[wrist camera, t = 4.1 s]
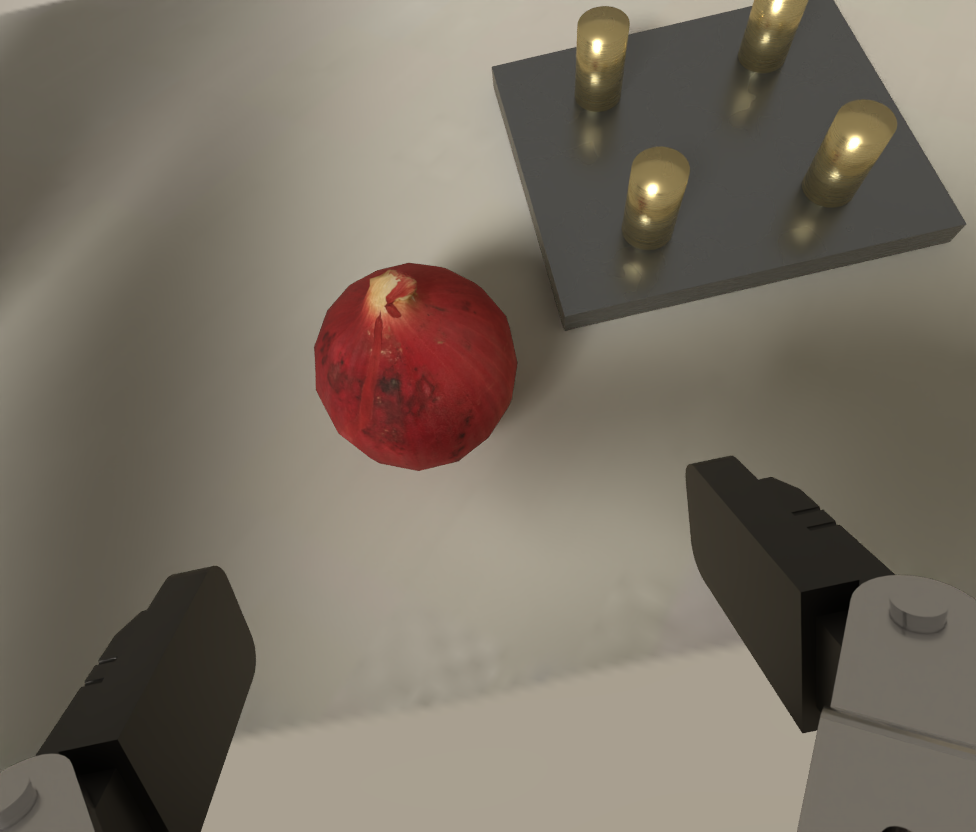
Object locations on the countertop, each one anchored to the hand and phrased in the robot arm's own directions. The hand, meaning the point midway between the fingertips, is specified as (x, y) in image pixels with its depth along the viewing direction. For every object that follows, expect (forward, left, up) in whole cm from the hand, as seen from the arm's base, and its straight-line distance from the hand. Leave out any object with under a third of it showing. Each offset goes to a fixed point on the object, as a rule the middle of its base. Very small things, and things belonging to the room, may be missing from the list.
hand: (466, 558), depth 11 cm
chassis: (+11, +15, -10) cm, 21 cm away
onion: (-1, +7, -10) cm, 12 cm away
